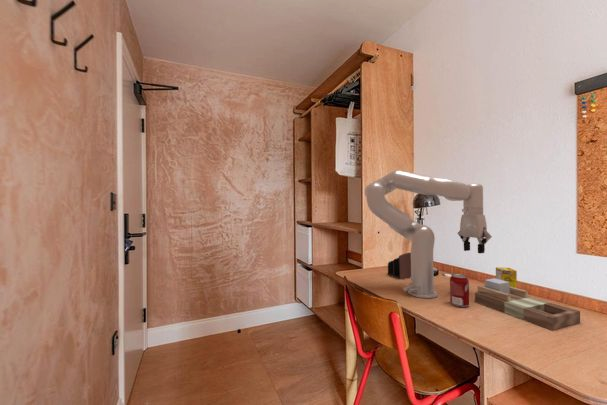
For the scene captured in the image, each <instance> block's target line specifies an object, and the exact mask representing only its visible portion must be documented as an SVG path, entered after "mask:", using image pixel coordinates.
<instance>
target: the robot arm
mask: <svg viewBox="0 0 607 405" xmlns="http://www.w3.org/2000/svg"><path fill="white" fill-rule="evenodd" d="M397 189H398V190H402V191H405V192H410V193H414V194H419V195H424V196H439V197H444V198H445V200H448V201H451V202H455V201H457V202H458V201H459V202H460V201H461V202H462V201H463V202H462V203H463V205H462V206H463V208H462V209H461V212H463V214H461V217H460V221H459V222H460V224H459V230H458V232H457V235H458V236H459V237H460V239H461V240H462V242H463V251H464V252H467V251H468V252H469V251H471V242H470V239H471V238H474V239H477V242H478V244H477V253H478V254H485V252H486V251H485V250H486V248H485V245H486V244H487V242H488V241H489V240H491V238H492V235H491V234H490V233H489V232H488V227H487V226H488V225H487V221H486V220H487V219H486V215H485V214H484V187H483V185H482V184H481V183H471V184H470V183H469V184H466V183H463V182H459V181H455V180H451V179H446V178H438V177H434V176H428V175H422V174H419V173H413V172H408V171H405V170H400V169H397V170H393V171H390V172H388V174H386V175H384V176H383V177H381V178H378V179H377V180H375V181H373V182H371V183H369V184H367V185H366V187H365V188H364V195H365V198H366V204H367V207H368V208H369V210H370V212H371V213H372V214H373V215H374V216H375V217H377V218H378V219H379V220H382V222H384V223H386V224H387V225H388V226H389V228H390V229H391V230H393V231H395V232H396V233H397V234H399V235H400V236H402V237H403V238H405V239H407V240H408V241H410V242H411V246H410V253H411V278H410V282H411V283H409V285H407V286H403V287H402V291H404V292H407V293H408V294H409V295H410V296H413V297H416V298H421V299H434V298H437V297H438V296H439V295H438V294H439V293H438V291H437V290H435V287H434V286H435V282H434V281H435V280H434V279H435V278H434V277H435V276H434V247H435V239H436V237H435V234H434V233H435V232H434V231H433V229H432V228H430V227H429V226H427V225H425V224H421V223H418V222H417V221H416V220H415V219H413V218H411V216H410V215H409V214H408V213H406V212H404V211H403V210H401V209H399V208H397V207H396V206H394V205H393V204H392V203H391V202H389V201H388V200H387V198H386V195H388V194H389V193H391V192H393V191H395V190H397Z"/></svg>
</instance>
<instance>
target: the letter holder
mask: <svg viewBox="0 0 607 405" xmlns="http://www.w3.org/2000/svg"><path fill="white" fill-rule="evenodd" d="M388 275H390V276H389V277H391V276H393V277H392V278H394V277H395V278H394V279H396V278H398V279H397V280H399V279H402V280H406V279H405V278H407V279H411V278H410V277H411V252H407V253H403V254H400V255H399V256H398V257H396V258H394V259H393V260H390V261H388V263H387V276H388Z"/></svg>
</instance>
